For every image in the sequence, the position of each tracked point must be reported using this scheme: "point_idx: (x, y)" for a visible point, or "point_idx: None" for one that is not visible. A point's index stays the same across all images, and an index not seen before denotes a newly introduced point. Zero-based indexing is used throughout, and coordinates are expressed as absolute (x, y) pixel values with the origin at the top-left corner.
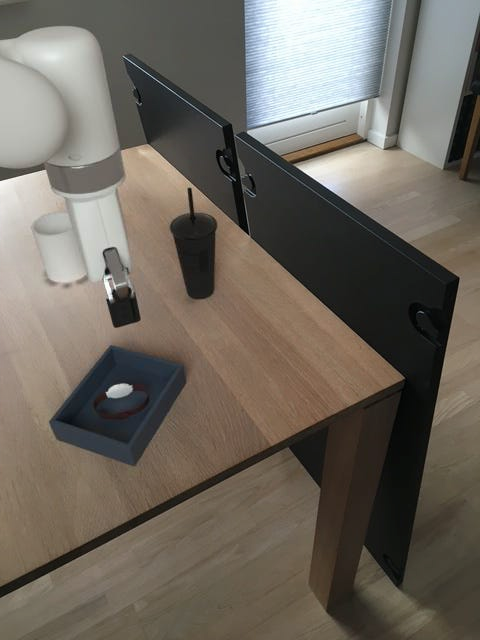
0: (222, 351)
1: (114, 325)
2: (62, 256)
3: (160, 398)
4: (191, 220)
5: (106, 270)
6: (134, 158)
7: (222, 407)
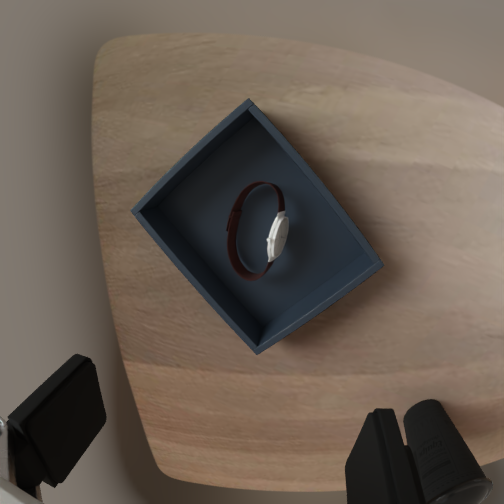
0: (292, 396)
1: (74, 359)
2: None
3: (202, 293)
4: None
5: (362, 463)
6: None
7: (193, 349)
